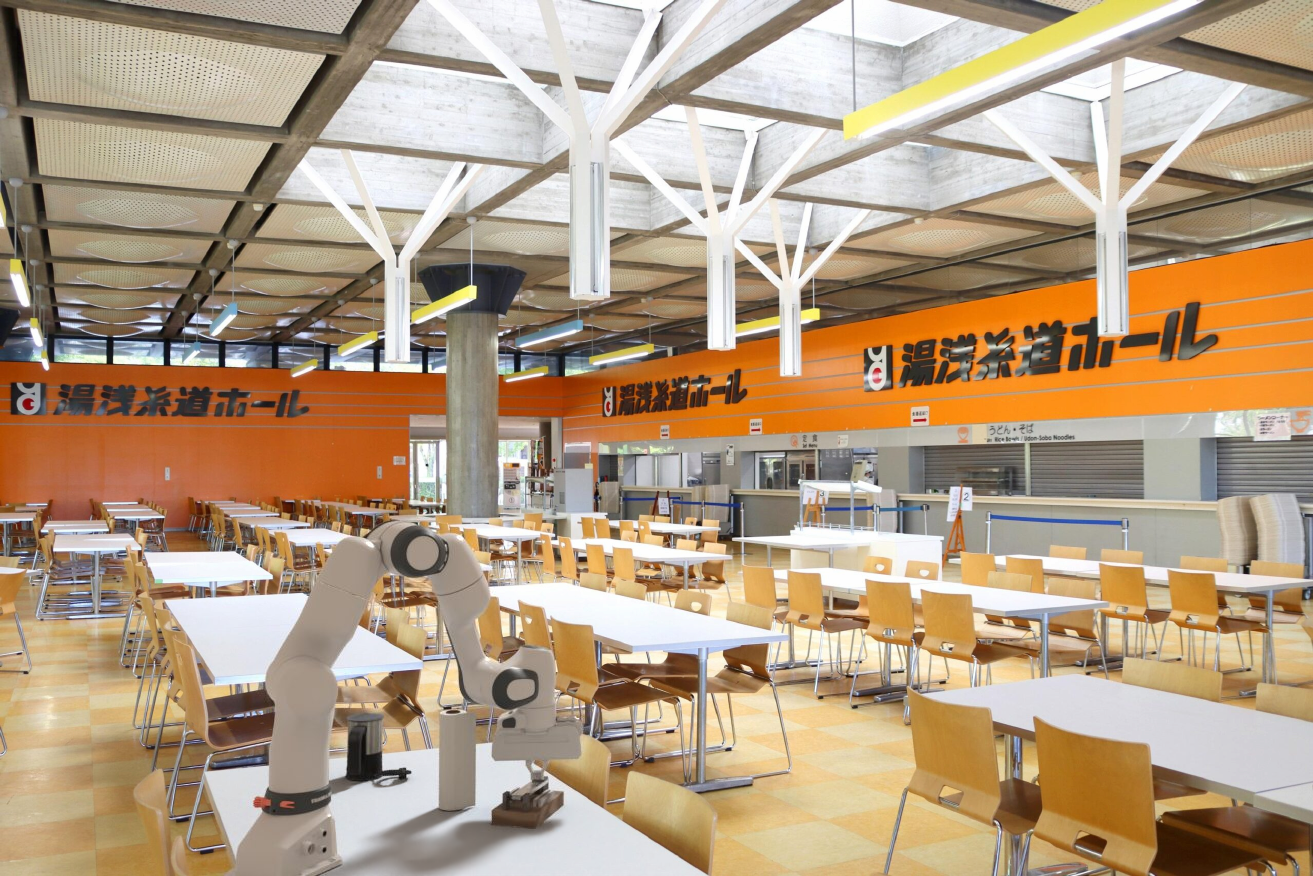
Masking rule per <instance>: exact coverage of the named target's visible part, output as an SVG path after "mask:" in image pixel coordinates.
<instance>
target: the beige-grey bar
mask: <svg viewBox="0 0 1313 876" xmlns="http://www.w3.org/2000/svg"><path fill="white" fill-rule="evenodd" d="M549 779H550V778H549V776H548V775H547V776H546V775H544V780H530V781H529V782H528V783H526V784H525V785H523V786H522V787H520V789H519V790H517V791H516V792H514V793H513V794H511V795H509V798H508V799H509V801H521V802H523V795H524V794H525V793H530V795H531V794H533V793H534V792H536V791H537V790H538V789H540V788H541V787H543V786H544V785H545V784H547V783H548V782H550V781H549Z"/></svg>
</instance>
